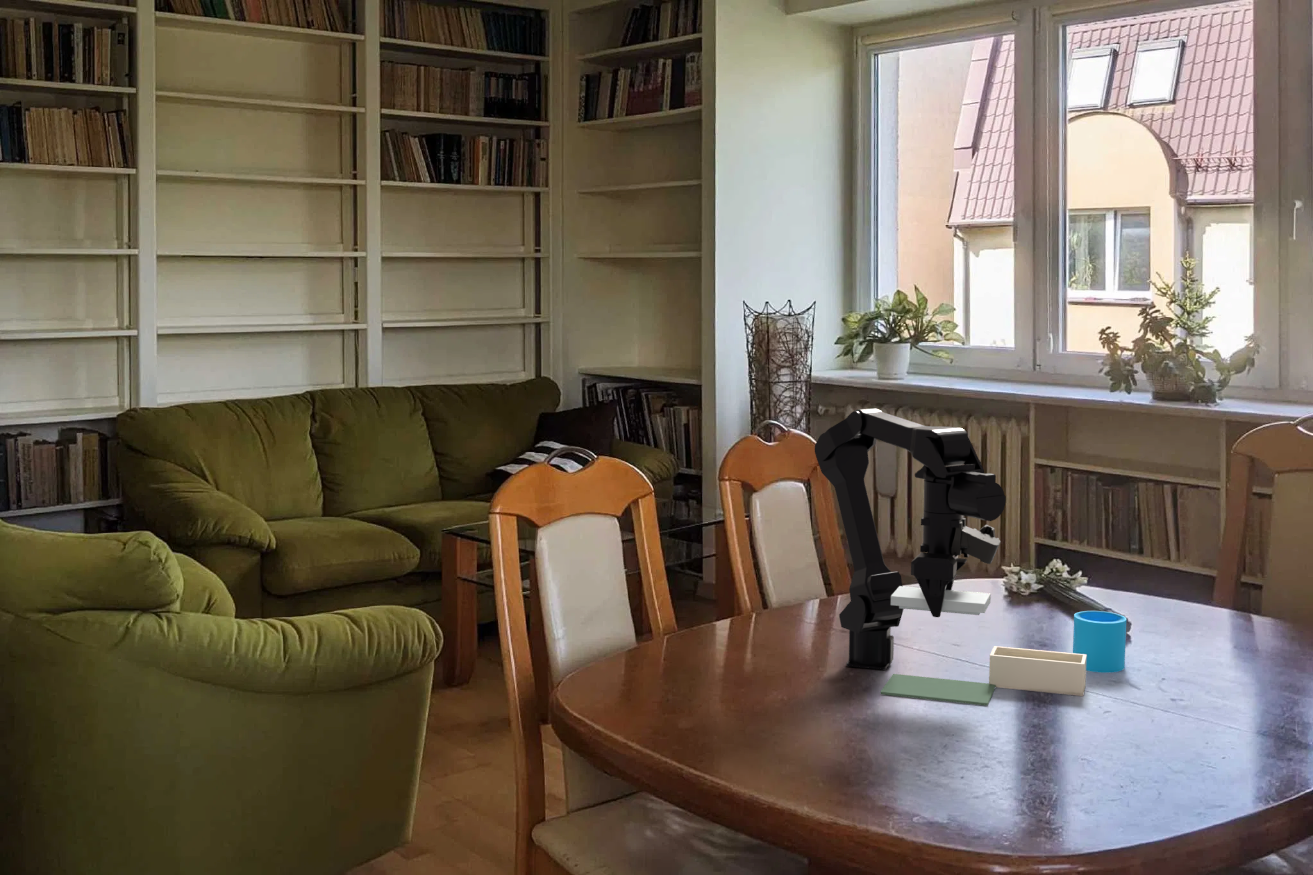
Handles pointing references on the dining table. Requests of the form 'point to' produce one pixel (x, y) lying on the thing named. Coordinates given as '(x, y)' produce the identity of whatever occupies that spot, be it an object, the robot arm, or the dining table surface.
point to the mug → (1100, 640)
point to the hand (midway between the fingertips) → (940, 611)
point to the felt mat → (939, 689)
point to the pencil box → (1038, 670)
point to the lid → (951, 604)
